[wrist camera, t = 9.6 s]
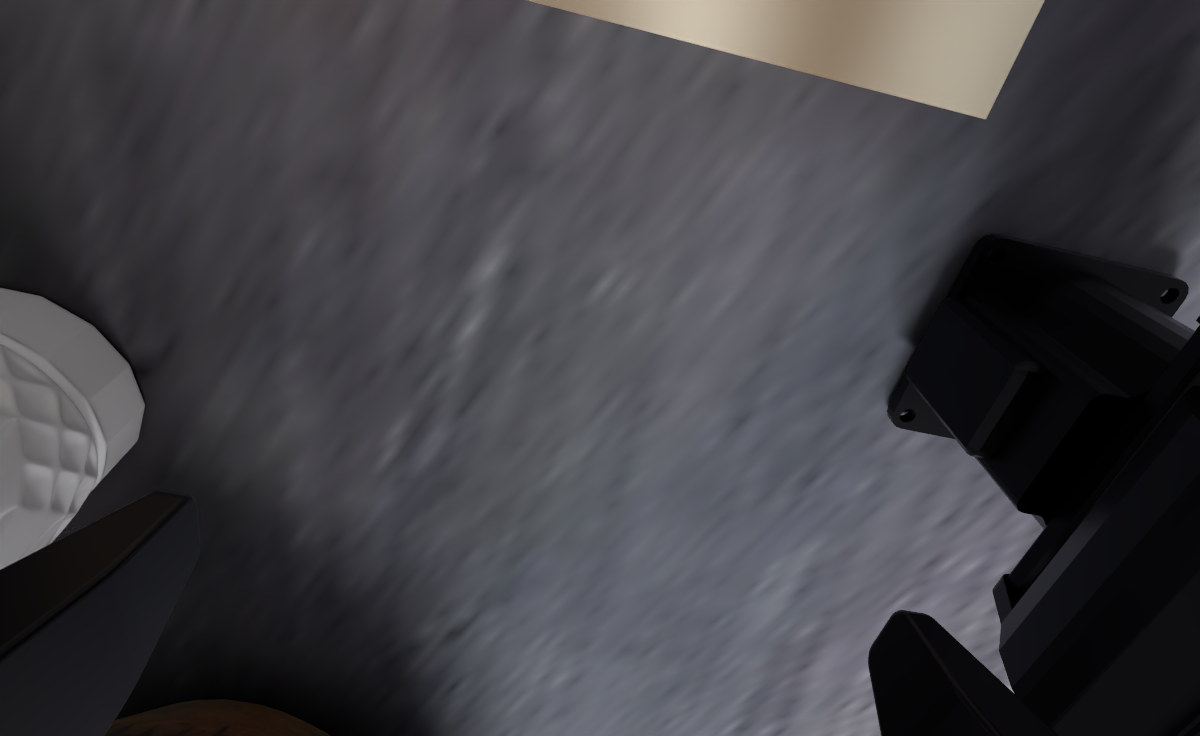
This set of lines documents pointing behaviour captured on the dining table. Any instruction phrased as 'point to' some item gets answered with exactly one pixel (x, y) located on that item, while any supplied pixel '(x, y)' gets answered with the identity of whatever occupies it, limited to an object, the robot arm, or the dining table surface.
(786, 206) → the dining table surface
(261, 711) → the jug
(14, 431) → the white cup
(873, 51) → the board
